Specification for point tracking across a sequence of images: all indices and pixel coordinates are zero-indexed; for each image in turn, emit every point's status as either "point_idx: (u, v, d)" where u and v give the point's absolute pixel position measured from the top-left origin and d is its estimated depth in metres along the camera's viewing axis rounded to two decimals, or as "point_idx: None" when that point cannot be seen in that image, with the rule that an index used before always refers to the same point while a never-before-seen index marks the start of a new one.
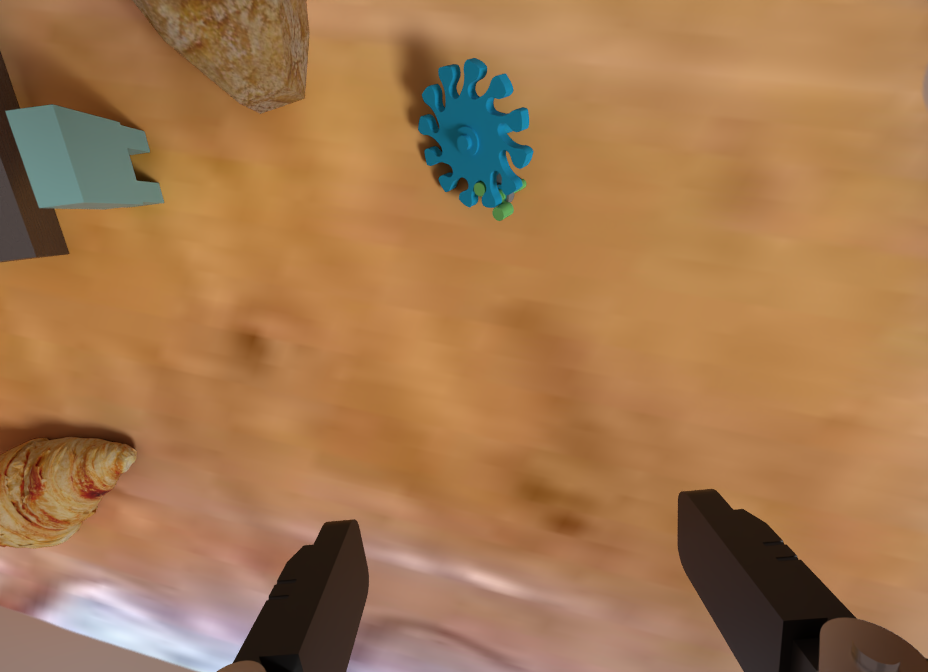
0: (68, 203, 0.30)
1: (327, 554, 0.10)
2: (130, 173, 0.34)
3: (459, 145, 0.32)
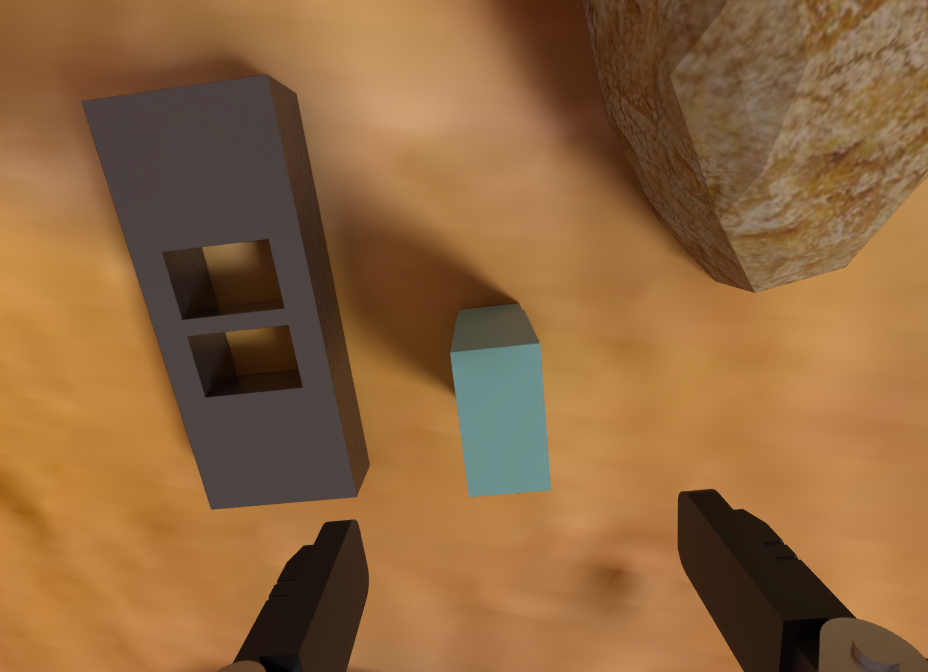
0: (522, 490, 0.17)
1: (327, 554, 0.10)
2: None
3: None
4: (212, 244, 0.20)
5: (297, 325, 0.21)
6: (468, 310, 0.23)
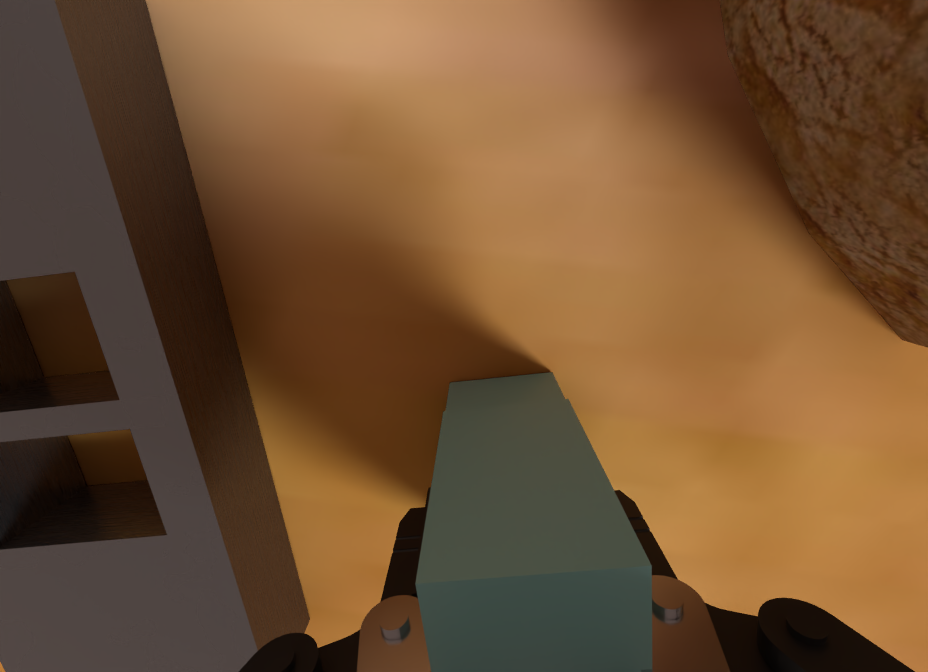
0: None
1: None
2: None
3: None
4: None
5: (146, 430, 0.11)
6: (465, 386, 0.13)
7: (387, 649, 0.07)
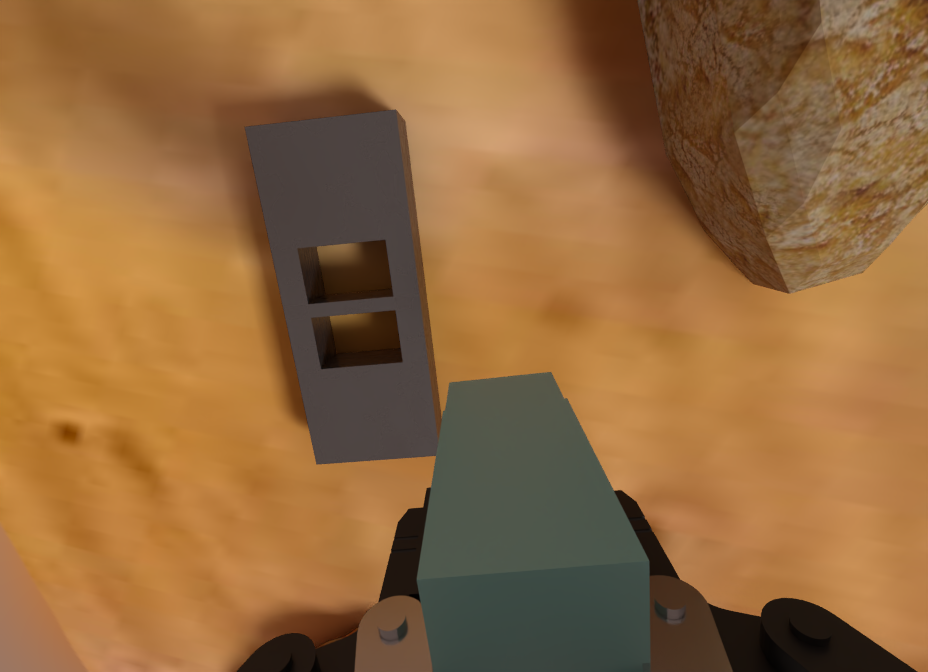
0: None
1: None
2: None
3: None
4: (339, 243, 0.24)
5: (402, 310, 0.25)
6: (465, 386, 0.13)
7: (384, 649, 0.07)
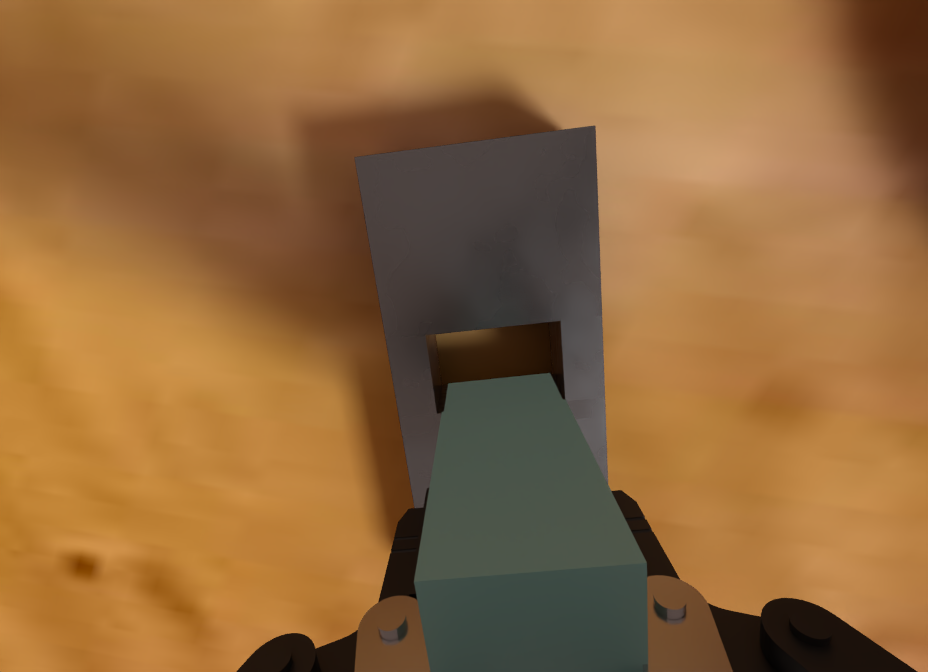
0: None
1: None
2: None
3: None
4: (490, 327, 0.16)
5: (577, 420, 0.17)
6: (464, 387, 0.13)
7: (384, 649, 0.07)
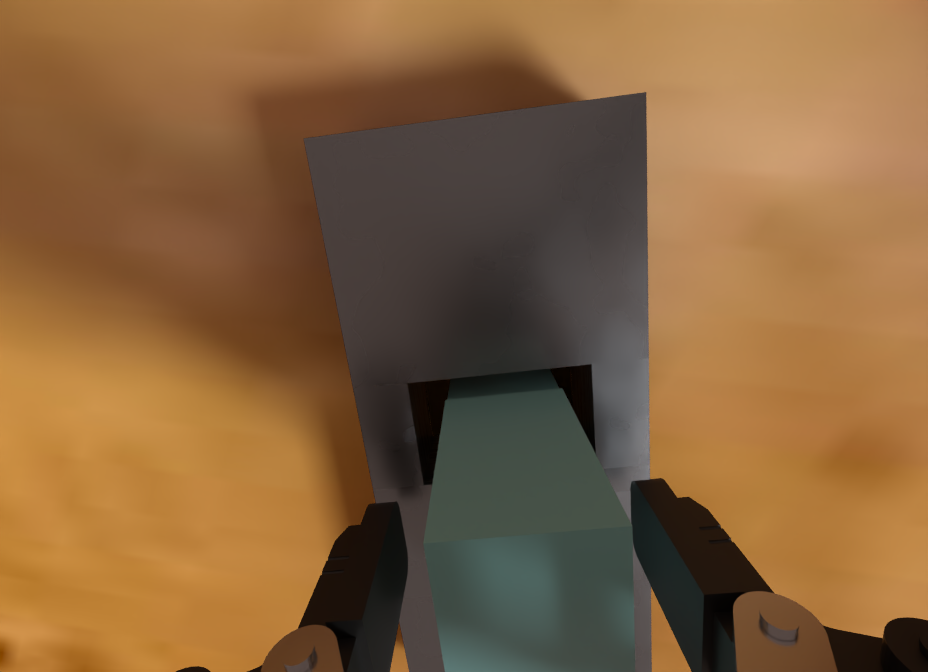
0: None
1: (375, 532, 0.10)
2: None
3: None
4: (495, 372, 0.12)
5: None
6: (466, 378, 0.14)
7: None
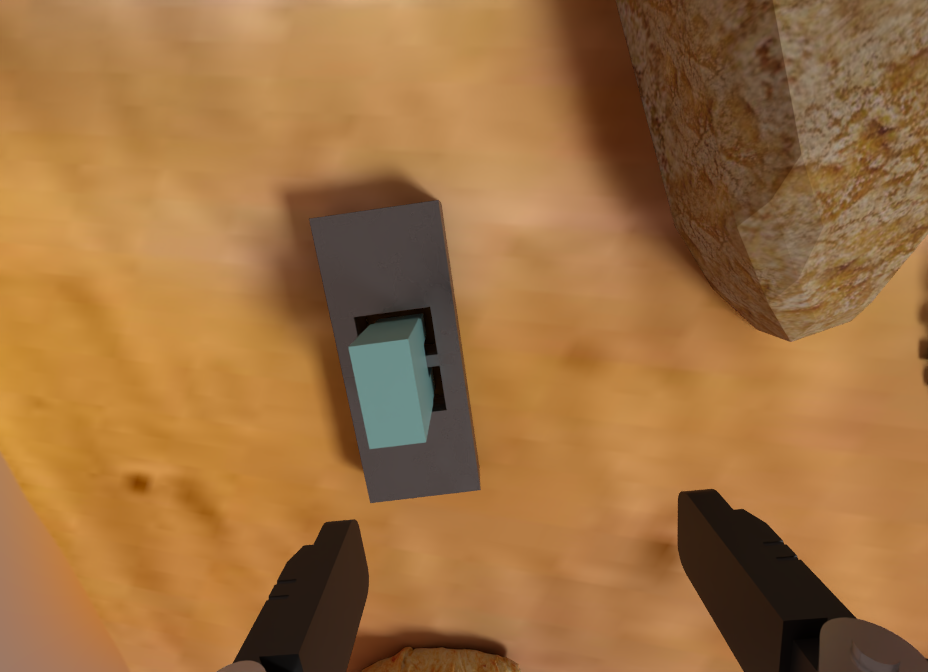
0: (406, 443, 0.25)
1: (327, 554, 0.10)
2: (427, 373, 0.29)
3: None
4: (390, 311, 0.28)
5: (445, 366, 0.29)
6: (384, 319, 0.31)
7: None
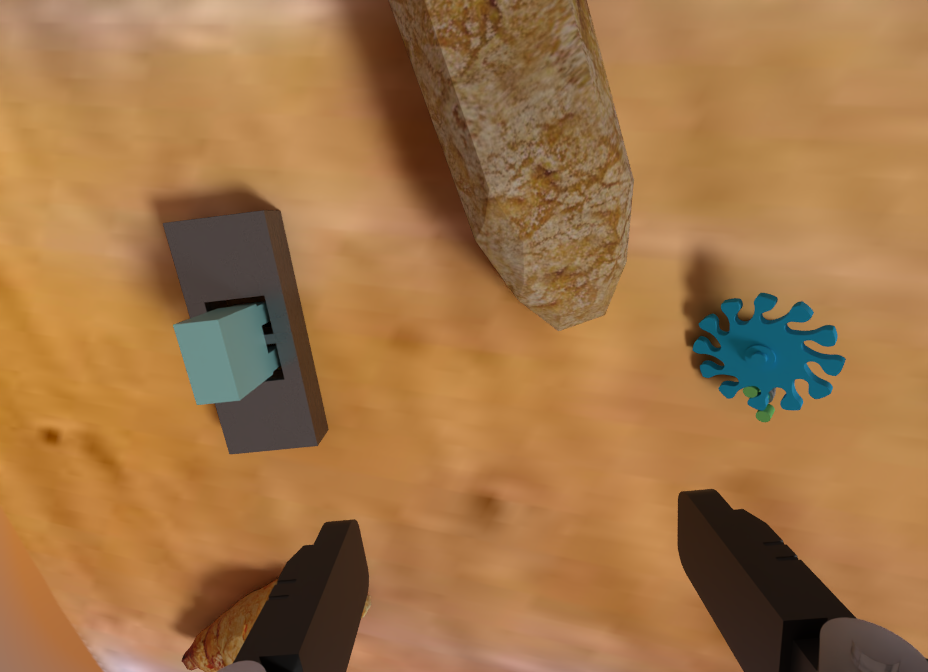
0: (224, 401, 0.32)
1: (327, 554, 0.10)
2: (264, 349, 0.36)
3: (752, 359, 0.34)
4: (232, 298, 0.35)
5: (281, 343, 0.36)
6: (237, 305, 0.38)
7: None
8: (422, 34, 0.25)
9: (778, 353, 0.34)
